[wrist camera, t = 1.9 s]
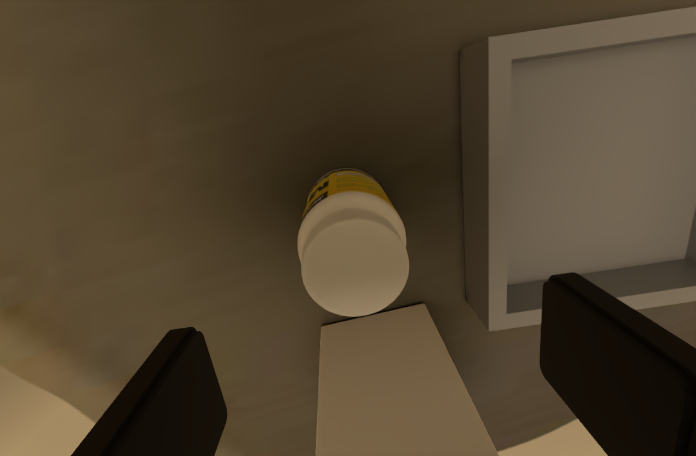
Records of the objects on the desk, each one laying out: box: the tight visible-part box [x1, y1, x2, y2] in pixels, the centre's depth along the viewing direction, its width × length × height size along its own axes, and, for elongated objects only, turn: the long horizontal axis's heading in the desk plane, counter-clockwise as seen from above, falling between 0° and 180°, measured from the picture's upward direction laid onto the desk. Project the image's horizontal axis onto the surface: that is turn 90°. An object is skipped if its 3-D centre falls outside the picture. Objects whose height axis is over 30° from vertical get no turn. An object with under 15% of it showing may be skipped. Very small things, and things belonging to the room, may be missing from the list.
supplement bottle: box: [298, 168, 409, 317], centre depth 16 cm, size 5×5×8 cm
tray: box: [459, 7, 696, 331], centre depth 19 cm, size 15×15×4 cm
